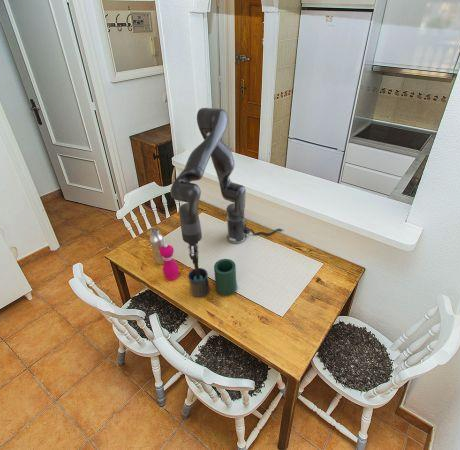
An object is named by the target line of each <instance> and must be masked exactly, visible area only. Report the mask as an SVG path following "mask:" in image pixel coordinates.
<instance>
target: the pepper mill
mask: <svg viewBox="0 0 460 450" xmlns="http://www.w3.org/2000/svg"><path fill="white" fill-rule="evenodd" d="M174 252H175V251H174V247H173V246H172V245H170V244H167V243H164V245H163V246H162V247H161V248H160V254H161V256H162V258H163V260H164V264H163V265H162V273H163V275H164V277H165V279H166V280H167V281H172V282H173V281H175V280H177V279H178V278H179V277H180V276H179V275H180V274H179V265H178V264H177V262H175V260H174V256H175V255H174Z"/></svg>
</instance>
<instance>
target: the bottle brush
mask: <svg viewBox="0 0 460 450" xmlns="http://www.w3.org/2000/svg"><path fill="white" fill-rule="evenodd" d="M193 266H194V269H195V273H196V276H194V281H200V280H203V277H202V275H200V274H199V268H200V267H199V263H198V264H193Z"/></svg>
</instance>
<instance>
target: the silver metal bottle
mask: <svg viewBox="0 0 460 450" xmlns="http://www.w3.org/2000/svg"><path fill="white" fill-rule="evenodd" d="M149 231H150V236H149V239H148V241H149V244H150V246H151V248H152V252H153V260H154V262H155V264H157V265H164V260H163V258H162V256H161V254H160V248H161V247H162V246H163V245H164V244H165V243H164V242H165V241H164V236H163V235H162V234H161V233H160V231H159V228H158V227H152V228H151V229H150V230H149Z"/></svg>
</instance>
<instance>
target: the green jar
mask: <svg viewBox="0 0 460 450" xmlns="http://www.w3.org/2000/svg"><path fill="white" fill-rule="evenodd" d="M213 270H214V281H215V282H214V283H215V290H216V292H217V294H218V295H220V296H221V297H222V296H223V297H228V296H232V295H234V294H235V292H236V291H237V268H236V263H235V261H234V260H232V259H229V258H221V259H219V260H217V261H216V262H215V263H214V264H213Z"/></svg>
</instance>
